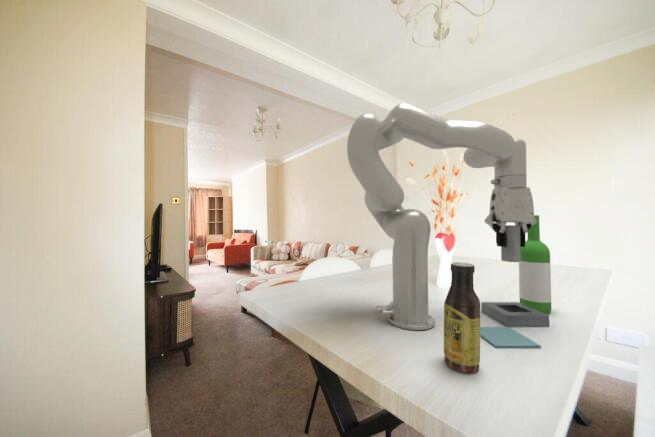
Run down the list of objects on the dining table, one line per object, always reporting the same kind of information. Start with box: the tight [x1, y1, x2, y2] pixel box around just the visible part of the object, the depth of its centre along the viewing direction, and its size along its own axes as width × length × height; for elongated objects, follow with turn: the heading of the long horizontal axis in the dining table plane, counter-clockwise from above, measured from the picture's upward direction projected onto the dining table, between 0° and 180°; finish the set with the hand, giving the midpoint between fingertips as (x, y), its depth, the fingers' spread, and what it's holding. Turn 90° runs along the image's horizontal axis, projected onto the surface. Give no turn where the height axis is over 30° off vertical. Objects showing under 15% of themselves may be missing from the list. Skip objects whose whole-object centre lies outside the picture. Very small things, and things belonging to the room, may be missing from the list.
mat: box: [480, 326, 542, 349], centre depth 60 cm, size 10×10×1 cm
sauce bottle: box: [443, 261, 481, 374], centre depth 49 cm, size 7×6×20 cm
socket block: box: [480, 301, 550, 328], centre depth 72 cm, size 11×11×3 cm
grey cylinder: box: [500, 224, 521, 263], centre depth 73 cm, size 4×4×10 cm
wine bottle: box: [518, 214, 552, 315], centre depth 79 cm, size 8×8×30 cm
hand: (510, 245), depth 73 cm, fingers closed on grey cylinder, 4 cm apart
